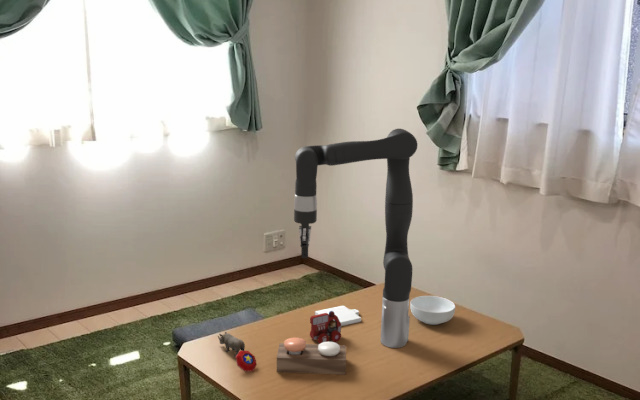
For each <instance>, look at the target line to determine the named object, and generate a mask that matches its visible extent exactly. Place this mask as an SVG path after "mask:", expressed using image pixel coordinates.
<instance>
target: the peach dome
mask: <svg viewBox="0 0 640 400" xmlns="http://www.w3.org/2000/svg"><path fill="white" fill-rule="evenodd" d="M283 343H284V348H285V349H286V350H288V351H289V355H301V351H302V350H304V349H305V348H306V344H307V341H306V340H305V339H304V338H301V337H289V338H286V339H285V340H284V341H283Z"/></svg>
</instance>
